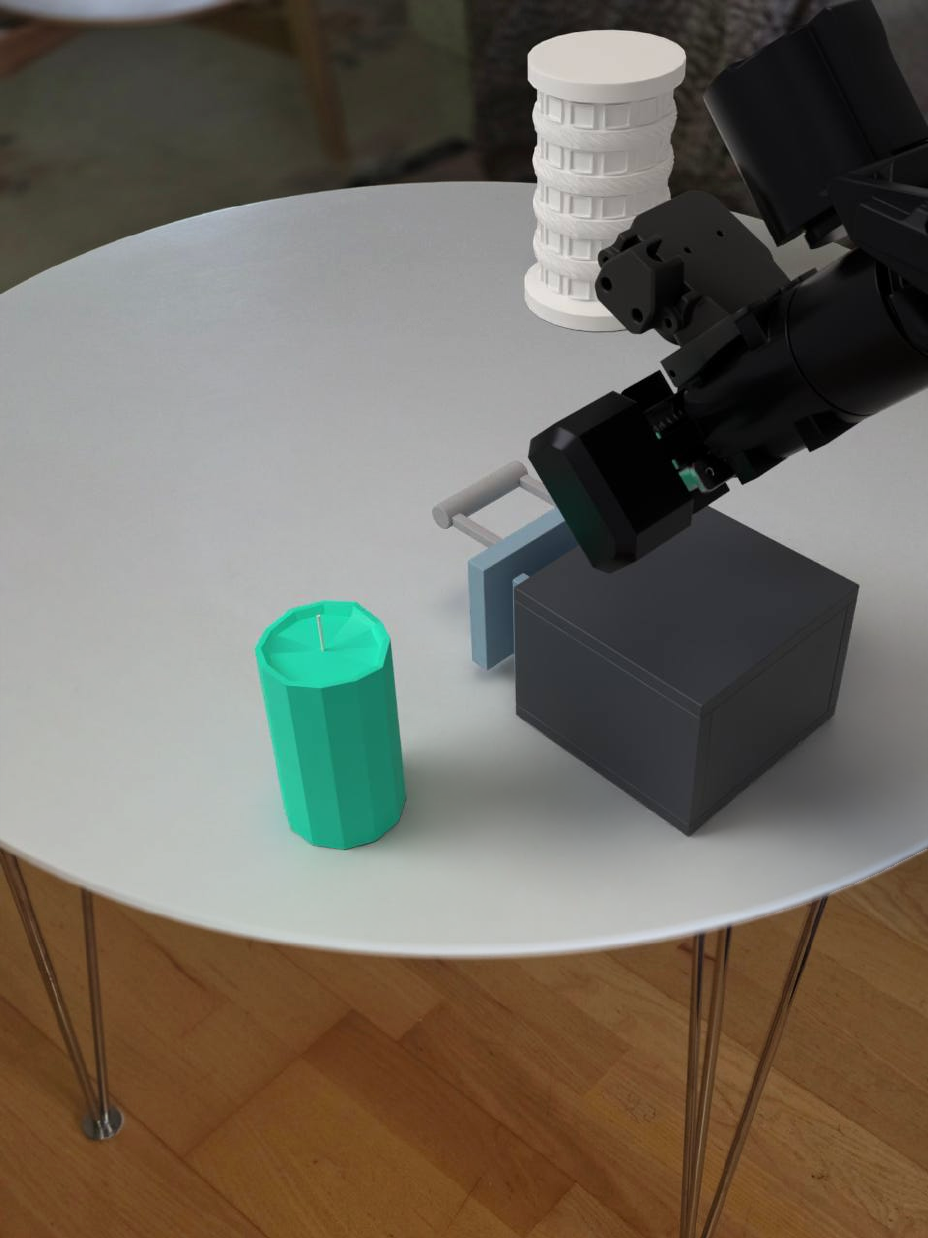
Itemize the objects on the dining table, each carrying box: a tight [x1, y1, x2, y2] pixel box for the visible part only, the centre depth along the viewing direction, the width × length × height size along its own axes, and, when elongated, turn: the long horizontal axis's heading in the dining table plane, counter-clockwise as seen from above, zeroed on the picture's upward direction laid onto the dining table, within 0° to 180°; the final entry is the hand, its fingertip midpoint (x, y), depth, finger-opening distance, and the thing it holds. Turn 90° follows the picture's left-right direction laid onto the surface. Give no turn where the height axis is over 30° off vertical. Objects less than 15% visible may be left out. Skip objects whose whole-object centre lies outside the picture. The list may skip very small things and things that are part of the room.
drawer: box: [431, 460, 579, 673], centre depth 72 cm, size 16×10×7 cm, turn 43°
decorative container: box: [524, 29, 687, 332], centre depth 100 cm, size 12×12×18 cm
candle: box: [253, 599, 407, 850], centre depth 63 cm, size 6×6×12 cm
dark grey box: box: [514, 505, 860, 837], centre depth 68 cm, size 12×12×9 cm
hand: (617, 473), depth 65 cm, fingers closed
